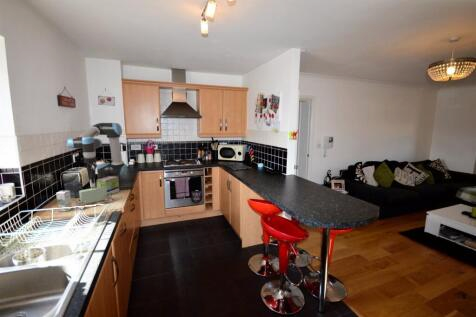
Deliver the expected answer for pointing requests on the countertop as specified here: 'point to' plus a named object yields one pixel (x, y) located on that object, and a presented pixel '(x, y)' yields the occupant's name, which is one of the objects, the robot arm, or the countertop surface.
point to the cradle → (107, 200)
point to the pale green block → (93, 194)
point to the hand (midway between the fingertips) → (92, 186)
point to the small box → (73, 188)
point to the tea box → (109, 184)
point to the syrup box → (63, 200)
